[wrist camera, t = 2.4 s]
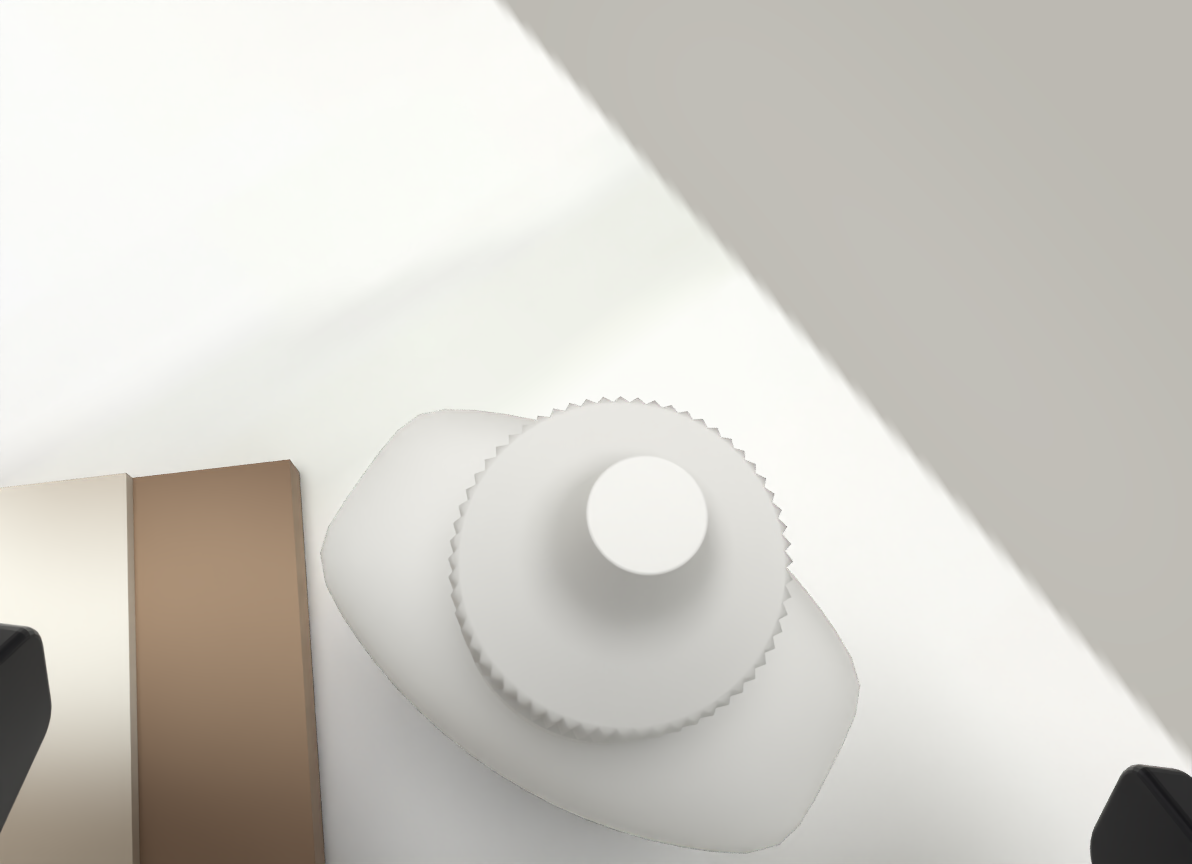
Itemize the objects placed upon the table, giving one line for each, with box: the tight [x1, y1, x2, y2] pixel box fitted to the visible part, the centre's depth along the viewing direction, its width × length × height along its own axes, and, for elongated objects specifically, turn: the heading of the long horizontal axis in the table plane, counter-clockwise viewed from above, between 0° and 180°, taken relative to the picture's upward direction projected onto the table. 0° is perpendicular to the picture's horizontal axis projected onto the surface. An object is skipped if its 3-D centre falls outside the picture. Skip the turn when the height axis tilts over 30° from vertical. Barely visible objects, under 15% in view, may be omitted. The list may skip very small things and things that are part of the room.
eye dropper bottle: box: [320, 397, 860, 853], centre depth 12 cm, size 4×6×12 cm
